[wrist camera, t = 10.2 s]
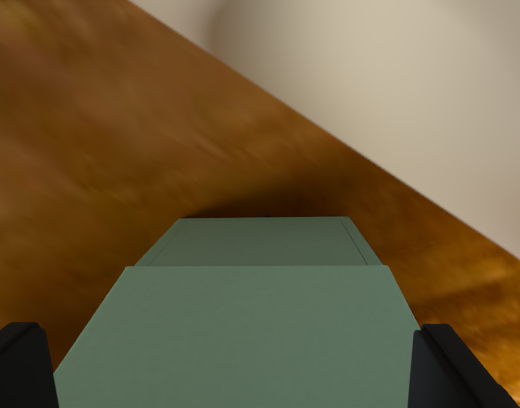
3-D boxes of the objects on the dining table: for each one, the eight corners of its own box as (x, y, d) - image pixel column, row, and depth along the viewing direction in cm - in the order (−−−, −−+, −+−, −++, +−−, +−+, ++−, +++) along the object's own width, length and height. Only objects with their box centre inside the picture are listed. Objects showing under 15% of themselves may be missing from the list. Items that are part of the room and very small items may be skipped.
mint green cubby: (343, 374, 35) (372, 486, 25) (191, 373, 36) (155, 481, 25) (348, 216, 31) (385, 267, 21) (178, 218, 32) (130, 268, 22)
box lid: (698, 927, 5) (966, 840, 3) (-239, 851, 6) (-518, 738, 4) (386, 276, 21) (397, 186, 18) (128, 277, 21) (110, 191, 19)
